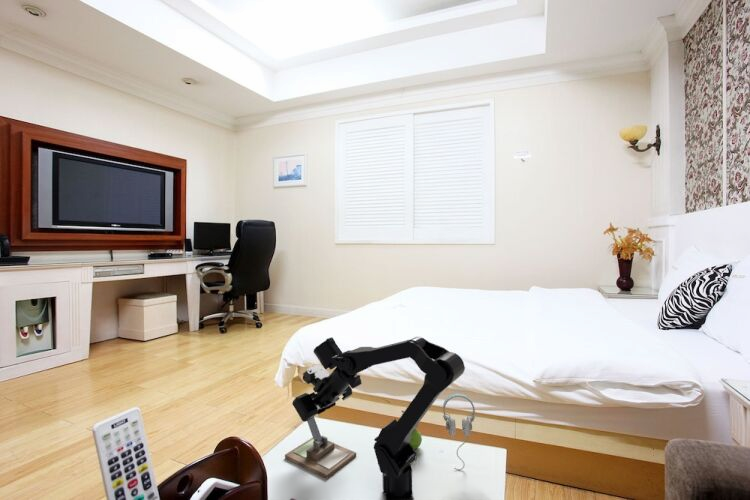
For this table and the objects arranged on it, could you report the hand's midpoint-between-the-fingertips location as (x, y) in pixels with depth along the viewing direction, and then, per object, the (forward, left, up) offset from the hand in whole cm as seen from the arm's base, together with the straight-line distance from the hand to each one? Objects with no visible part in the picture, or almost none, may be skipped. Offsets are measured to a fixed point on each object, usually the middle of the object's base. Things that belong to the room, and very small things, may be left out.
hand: (310, 413), depth 104 cm
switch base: (-3, +2, -11) cm, 12 cm away
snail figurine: (-29, 0, -12) cm, 31 cm away
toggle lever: (-3, +2, -8) cm, 9 cm away
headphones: (-40, +11, -12) cm, 43 cm away
